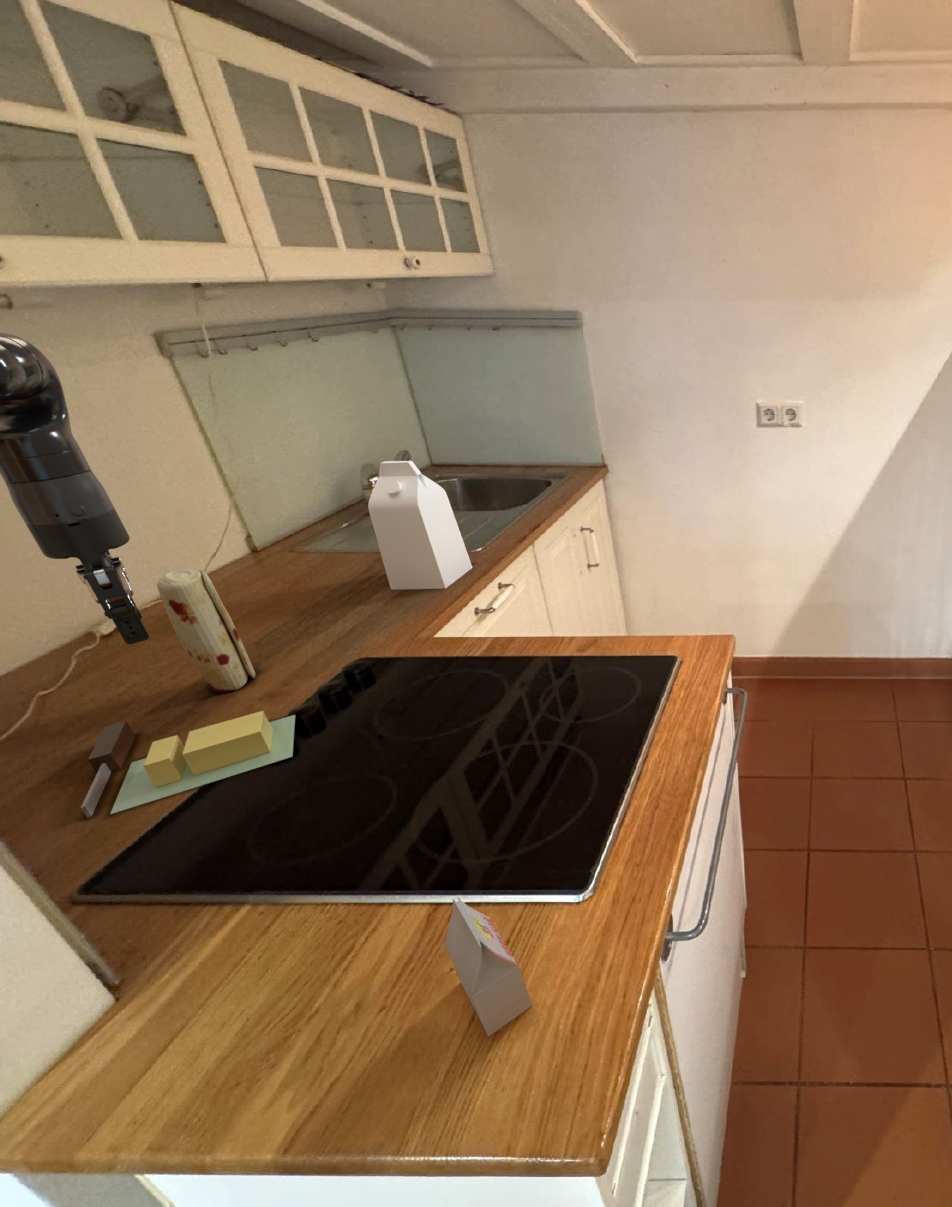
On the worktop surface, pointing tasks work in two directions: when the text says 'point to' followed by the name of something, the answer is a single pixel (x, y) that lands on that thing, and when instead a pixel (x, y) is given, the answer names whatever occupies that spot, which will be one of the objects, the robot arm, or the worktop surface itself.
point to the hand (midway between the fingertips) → (135, 631)
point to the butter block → (228, 742)
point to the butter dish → (143, 789)
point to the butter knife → (107, 760)
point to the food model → (205, 629)
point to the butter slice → (165, 761)
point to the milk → (416, 529)
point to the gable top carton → (485, 968)
